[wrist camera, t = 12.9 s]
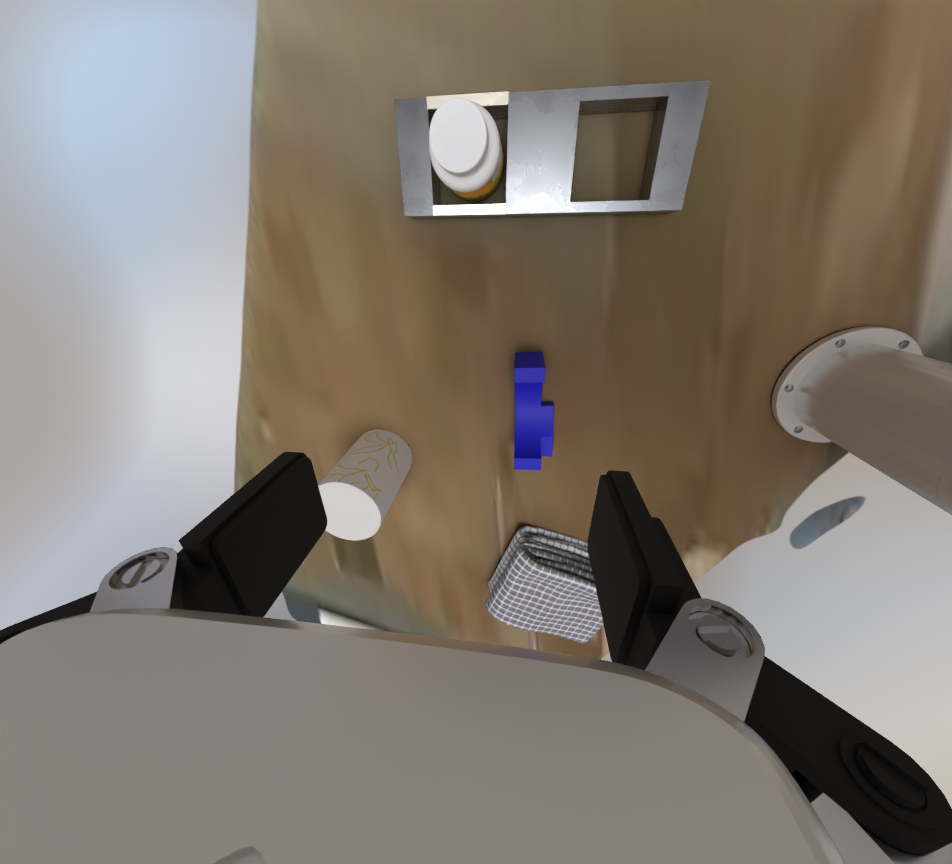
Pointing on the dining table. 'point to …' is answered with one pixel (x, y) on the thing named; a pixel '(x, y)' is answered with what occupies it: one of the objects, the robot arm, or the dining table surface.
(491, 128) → the supplement bottle
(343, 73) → the dining table surface
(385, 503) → the cup
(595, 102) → the metal bottle holder tray
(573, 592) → the towel
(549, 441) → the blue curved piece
